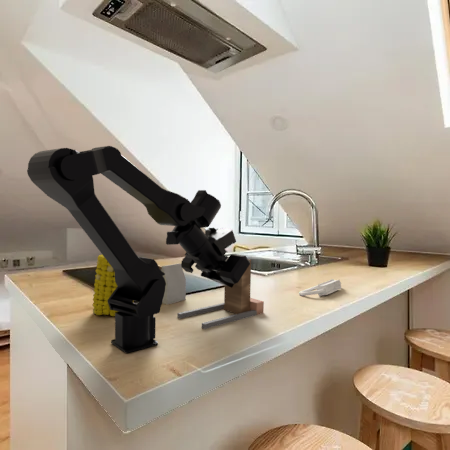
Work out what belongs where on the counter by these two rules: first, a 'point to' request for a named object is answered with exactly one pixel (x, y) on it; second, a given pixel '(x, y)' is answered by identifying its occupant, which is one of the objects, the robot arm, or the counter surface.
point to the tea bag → (174, 284)
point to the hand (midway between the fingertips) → (231, 285)
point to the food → (103, 287)
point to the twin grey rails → (255, 309)
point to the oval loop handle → (323, 288)
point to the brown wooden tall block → (239, 294)
